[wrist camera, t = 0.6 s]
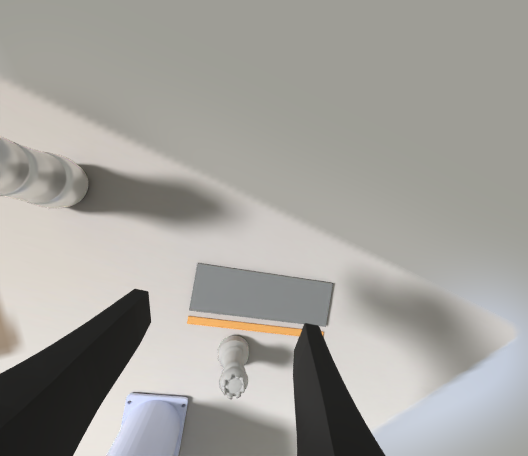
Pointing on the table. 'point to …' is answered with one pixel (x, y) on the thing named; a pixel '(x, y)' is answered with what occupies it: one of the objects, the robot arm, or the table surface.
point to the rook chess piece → (233, 365)
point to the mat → (260, 295)
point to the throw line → (244, 326)
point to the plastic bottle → (40, 176)
